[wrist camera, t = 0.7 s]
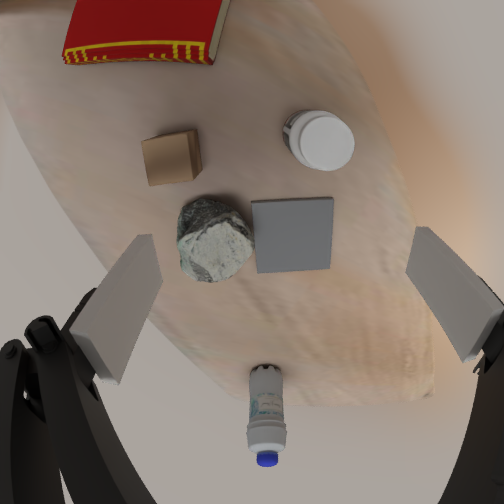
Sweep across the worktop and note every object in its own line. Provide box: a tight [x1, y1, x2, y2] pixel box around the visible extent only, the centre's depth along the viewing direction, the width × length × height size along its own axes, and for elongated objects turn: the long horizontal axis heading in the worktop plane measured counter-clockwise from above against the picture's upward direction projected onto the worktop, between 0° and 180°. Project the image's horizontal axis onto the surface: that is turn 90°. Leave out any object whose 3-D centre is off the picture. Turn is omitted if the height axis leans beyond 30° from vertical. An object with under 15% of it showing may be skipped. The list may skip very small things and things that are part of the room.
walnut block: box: [141, 129, 202, 186], centre depth 28 cm, size 5×5×5 cm
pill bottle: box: [283, 110, 355, 171], centre depth 25 cm, size 6×6×10 cm
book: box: [62, 0, 230, 65], centre depth 19 cm, size 18×13×5 cm
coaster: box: [251, 197, 334, 273], centre depth 35 cm, size 10×10×1 cm
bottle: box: [246, 366, 287, 467], centre depth 41 cm, size 7×7×20 cm
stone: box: [177, 199, 255, 283], centre depth 32 cm, size 10×10×10 cm
